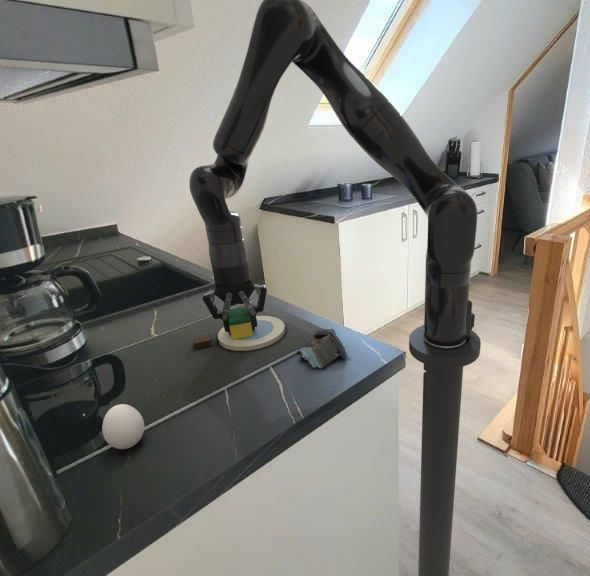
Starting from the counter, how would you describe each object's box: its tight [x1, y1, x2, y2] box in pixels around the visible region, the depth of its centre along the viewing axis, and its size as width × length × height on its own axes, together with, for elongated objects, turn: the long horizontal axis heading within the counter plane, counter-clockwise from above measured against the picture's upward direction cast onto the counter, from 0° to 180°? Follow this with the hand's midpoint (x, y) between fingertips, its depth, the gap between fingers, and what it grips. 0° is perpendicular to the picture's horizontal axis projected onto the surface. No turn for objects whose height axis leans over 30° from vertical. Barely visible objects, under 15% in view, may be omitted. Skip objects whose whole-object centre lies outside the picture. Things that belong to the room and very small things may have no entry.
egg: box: [101, 403, 145, 450], centre depth 61 cm, size 5×5×7 cm
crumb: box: [194, 334, 212, 350], centre depth 91 cm, size 3×3×2 cm
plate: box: [217, 315, 286, 352], centre depth 95 cm, size 15×15×1 cm
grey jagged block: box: [299, 328, 348, 369], centre depth 84 cm, size 10×7×12 cm
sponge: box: [228, 306, 253, 340], centre depth 93 cm, size 7×4×4 cm, turn 20°
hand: (241, 330), depth 94 cm, fingers closed on sponge, 4 cm apart
